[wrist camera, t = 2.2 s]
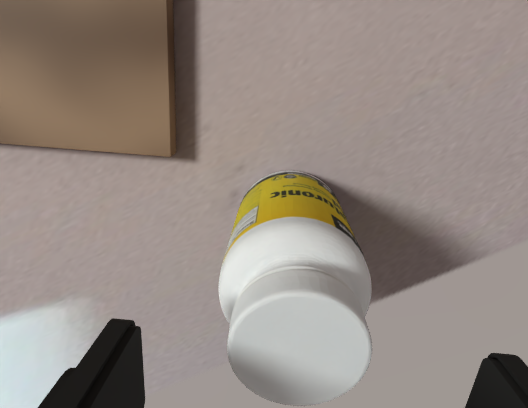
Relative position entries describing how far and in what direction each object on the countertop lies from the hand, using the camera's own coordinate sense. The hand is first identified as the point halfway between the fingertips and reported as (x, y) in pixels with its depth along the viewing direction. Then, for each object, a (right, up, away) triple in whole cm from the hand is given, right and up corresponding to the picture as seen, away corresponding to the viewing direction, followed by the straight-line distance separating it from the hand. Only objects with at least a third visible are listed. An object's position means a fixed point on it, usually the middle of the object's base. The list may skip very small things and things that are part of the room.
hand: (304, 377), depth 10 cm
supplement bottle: (0, +4, +9) cm, 10 cm away
